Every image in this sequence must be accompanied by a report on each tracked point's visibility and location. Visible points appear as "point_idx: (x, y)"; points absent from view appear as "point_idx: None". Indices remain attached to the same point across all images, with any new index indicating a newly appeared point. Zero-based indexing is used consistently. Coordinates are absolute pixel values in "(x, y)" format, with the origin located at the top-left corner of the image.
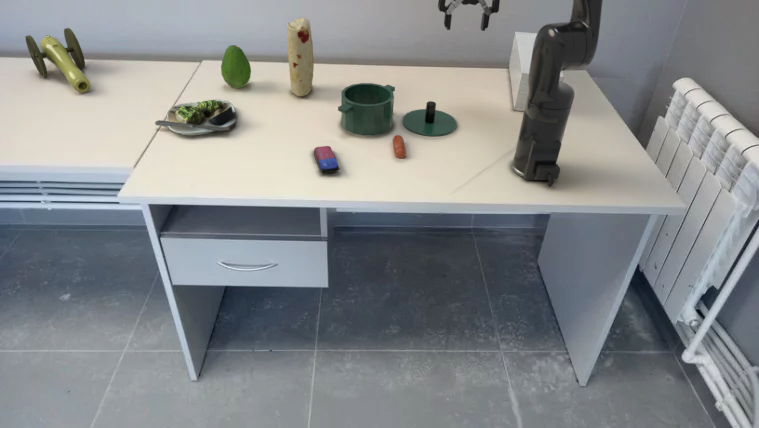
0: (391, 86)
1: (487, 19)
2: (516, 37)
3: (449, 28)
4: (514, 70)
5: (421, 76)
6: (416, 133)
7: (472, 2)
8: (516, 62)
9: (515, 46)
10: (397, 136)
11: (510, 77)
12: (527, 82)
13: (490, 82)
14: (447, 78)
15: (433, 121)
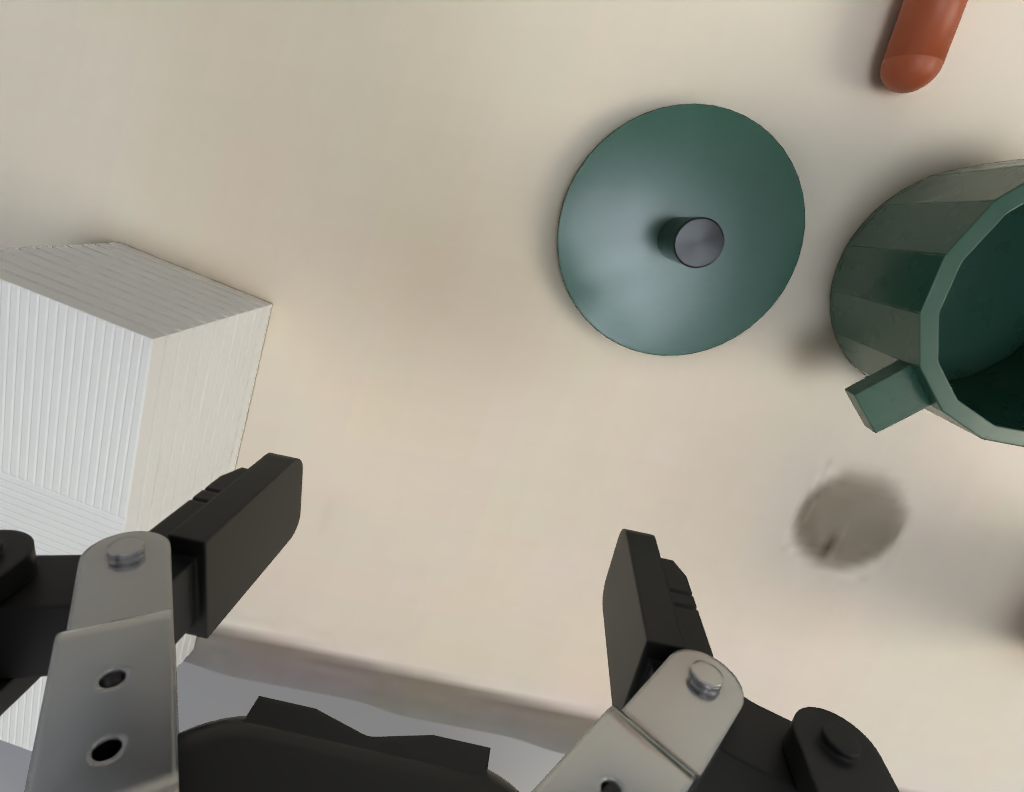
0: (870, 405)
1: (190, 519)
2: None
3: (634, 534)
4: None
5: (546, 632)
6: (777, 145)
7: (310, 747)
8: None
9: None
10: (936, 49)
11: None
12: (152, 315)
13: (299, 541)
14: (453, 600)
15: (667, 222)
